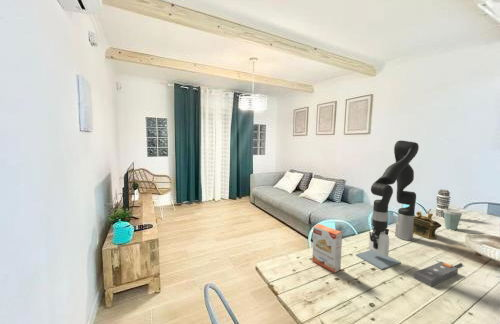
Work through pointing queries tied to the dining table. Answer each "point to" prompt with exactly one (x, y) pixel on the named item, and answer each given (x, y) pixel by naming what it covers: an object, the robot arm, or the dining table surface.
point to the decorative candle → (442, 202)
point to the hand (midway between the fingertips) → (378, 247)
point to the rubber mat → (378, 259)
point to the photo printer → (381, 244)
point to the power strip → (436, 273)
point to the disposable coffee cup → (451, 218)
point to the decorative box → (425, 226)
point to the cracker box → (327, 247)
